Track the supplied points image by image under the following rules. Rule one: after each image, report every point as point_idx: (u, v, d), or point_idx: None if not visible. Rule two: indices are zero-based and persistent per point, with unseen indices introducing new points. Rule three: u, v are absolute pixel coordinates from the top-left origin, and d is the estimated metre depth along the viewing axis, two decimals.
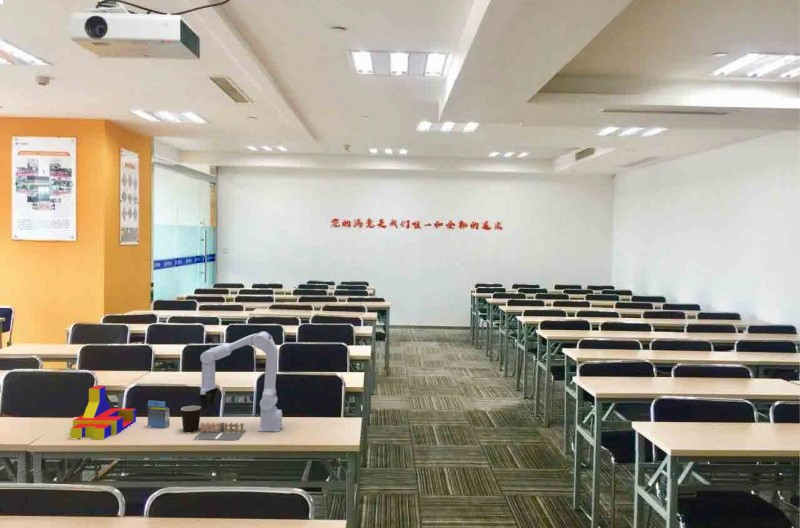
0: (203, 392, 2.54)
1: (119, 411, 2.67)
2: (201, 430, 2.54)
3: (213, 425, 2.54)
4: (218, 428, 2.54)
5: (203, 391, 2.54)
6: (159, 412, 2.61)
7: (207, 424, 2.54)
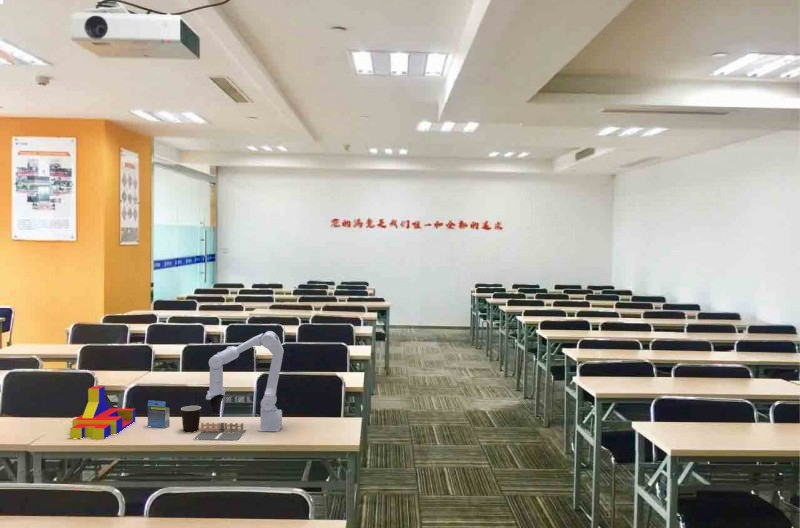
0: (208, 397, 2.52)
1: (118, 411, 2.67)
2: (201, 430, 2.54)
3: (213, 425, 2.54)
4: (218, 428, 2.54)
5: (208, 396, 2.52)
6: (159, 412, 2.61)
7: (207, 424, 2.54)
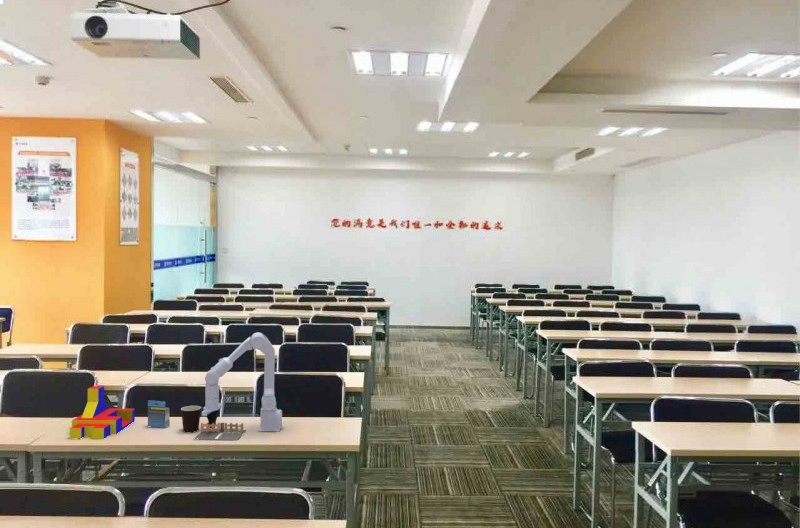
0: (204, 414, 2.48)
1: (118, 411, 2.67)
2: (201, 430, 2.54)
3: (213, 425, 2.54)
4: (218, 428, 2.54)
5: (204, 413, 2.48)
6: (159, 412, 2.61)
7: (207, 424, 2.54)
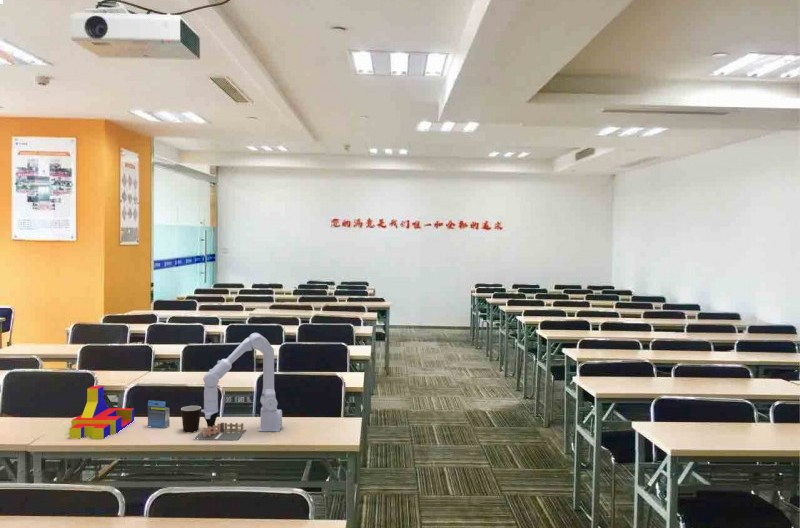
0: (208, 416, 2.45)
1: (117, 411, 2.67)
2: (204, 435, 2.48)
3: (215, 427, 2.52)
4: (219, 429, 2.53)
5: (208, 415, 2.45)
6: (159, 412, 2.61)
7: (209, 427, 2.50)
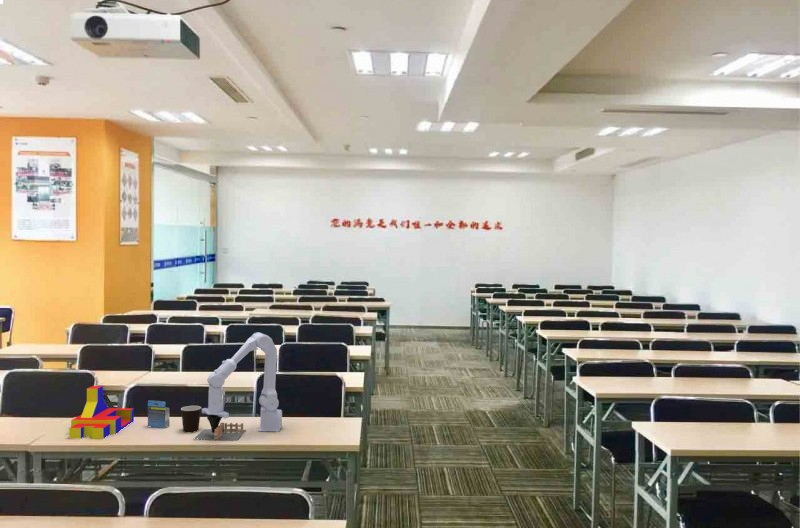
0: (227, 415, 2.46)
1: (117, 411, 2.67)
2: (217, 436, 2.46)
3: (220, 427, 2.51)
4: None
5: (227, 414, 2.46)
6: (159, 412, 2.61)
7: (218, 428, 2.48)
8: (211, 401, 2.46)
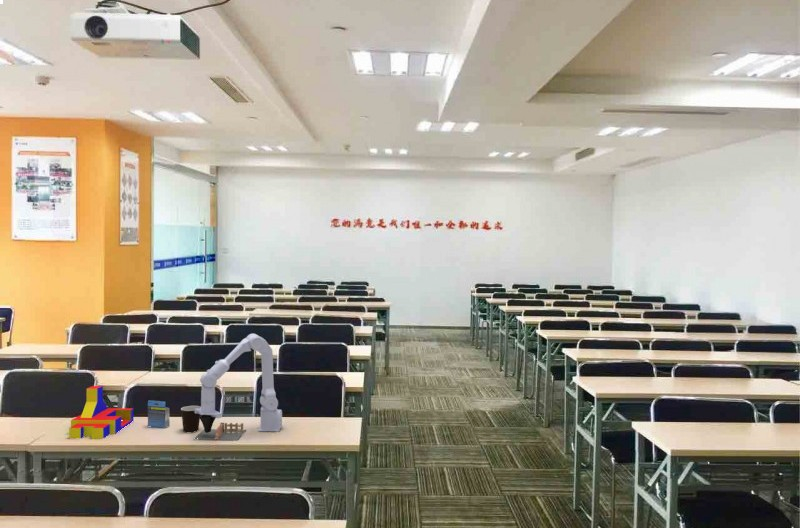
0: (220, 415, 2.46)
1: (116, 411, 2.67)
2: (218, 436, 2.46)
3: (221, 427, 2.51)
4: (222, 429, 2.53)
5: (220, 414, 2.46)
6: (159, 412, 2.61)
7: (219, 428, 2.48)
8: (203, 401, 2.47)
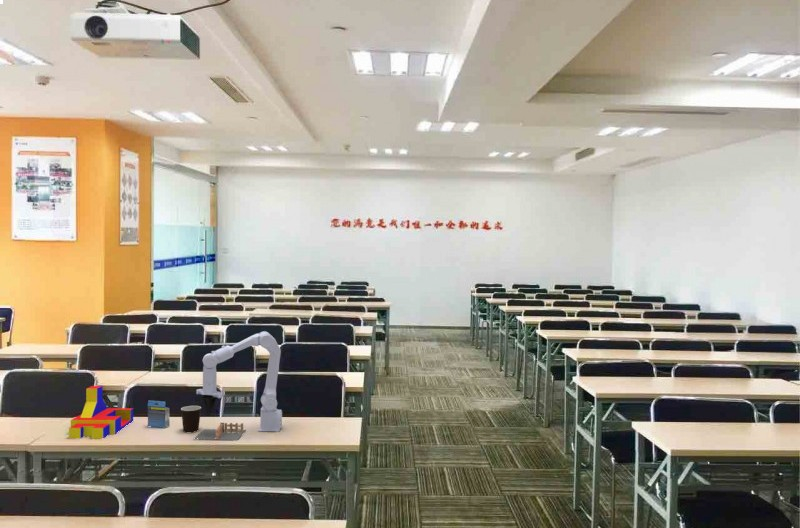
0: (222, 395, 2.49)
1: (116, 411, 2.67)
2: (218, 436, 2.46)
3: (221, 427, 2.51)
4: (222, 429, 2.53)
5: (222, 394, 2.49)
6: (159, 412, 2.61)
7: (219, 428, 2.48)
8: (204, 381, 2.50)
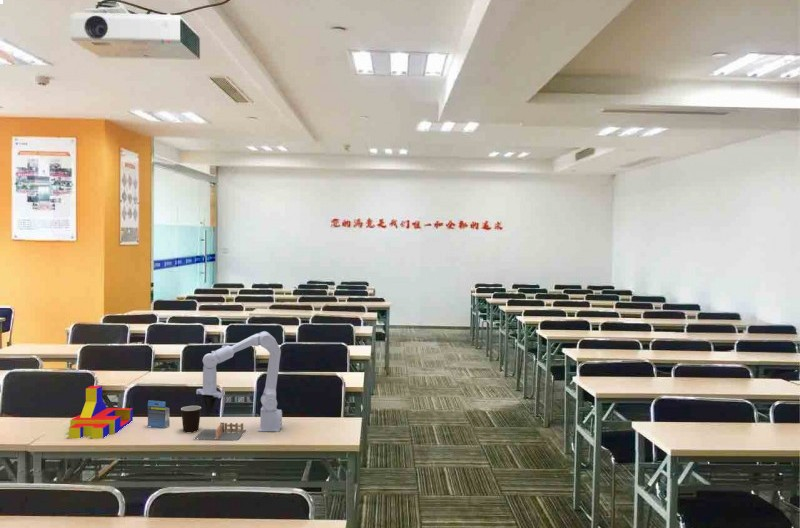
0: (222, 395, 2.49)
1: (116, 411, 2.67)
2: (218, 436, 2.46)
3: (221, 427, 2.51)
4: (222, 429, 2.53)
5: (222, 394, 2.49)
6: (159, 412, 2.61)
7: (219, 428, 2.48)
8: (204, 381, 2.50)
